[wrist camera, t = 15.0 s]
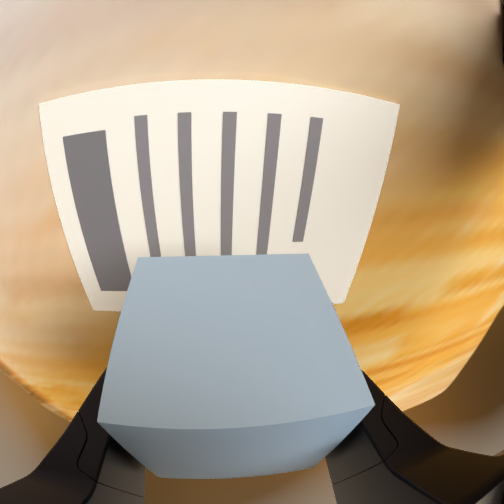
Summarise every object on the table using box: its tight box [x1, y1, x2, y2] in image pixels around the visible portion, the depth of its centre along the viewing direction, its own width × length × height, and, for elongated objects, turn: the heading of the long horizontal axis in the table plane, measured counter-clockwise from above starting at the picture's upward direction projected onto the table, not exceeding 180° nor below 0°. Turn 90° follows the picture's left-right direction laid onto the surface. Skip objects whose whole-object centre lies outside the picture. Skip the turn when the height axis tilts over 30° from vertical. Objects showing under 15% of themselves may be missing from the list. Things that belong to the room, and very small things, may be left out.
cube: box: [97, 253, 375, 479], centre depth 8 cm, size 5×5×5 cm
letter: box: [39, 79, 400, 311], centre depth 15 cm, size 18×14×1 cm
